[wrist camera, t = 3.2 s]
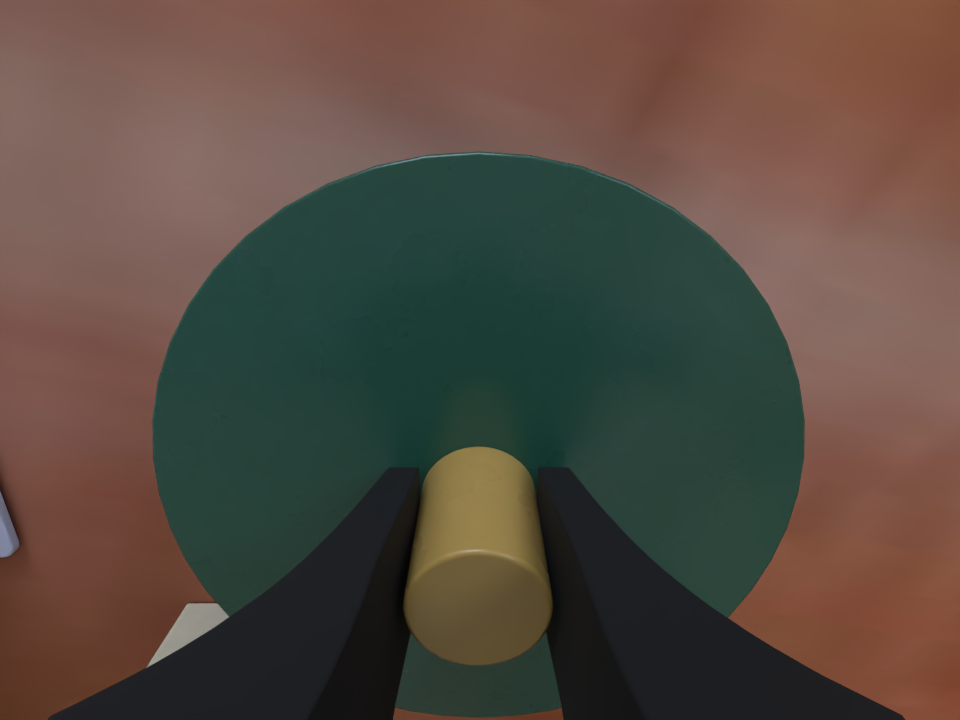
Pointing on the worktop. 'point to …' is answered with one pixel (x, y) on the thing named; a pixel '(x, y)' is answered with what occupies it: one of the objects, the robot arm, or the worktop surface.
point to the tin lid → (478, 402)
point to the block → (190, 627)
